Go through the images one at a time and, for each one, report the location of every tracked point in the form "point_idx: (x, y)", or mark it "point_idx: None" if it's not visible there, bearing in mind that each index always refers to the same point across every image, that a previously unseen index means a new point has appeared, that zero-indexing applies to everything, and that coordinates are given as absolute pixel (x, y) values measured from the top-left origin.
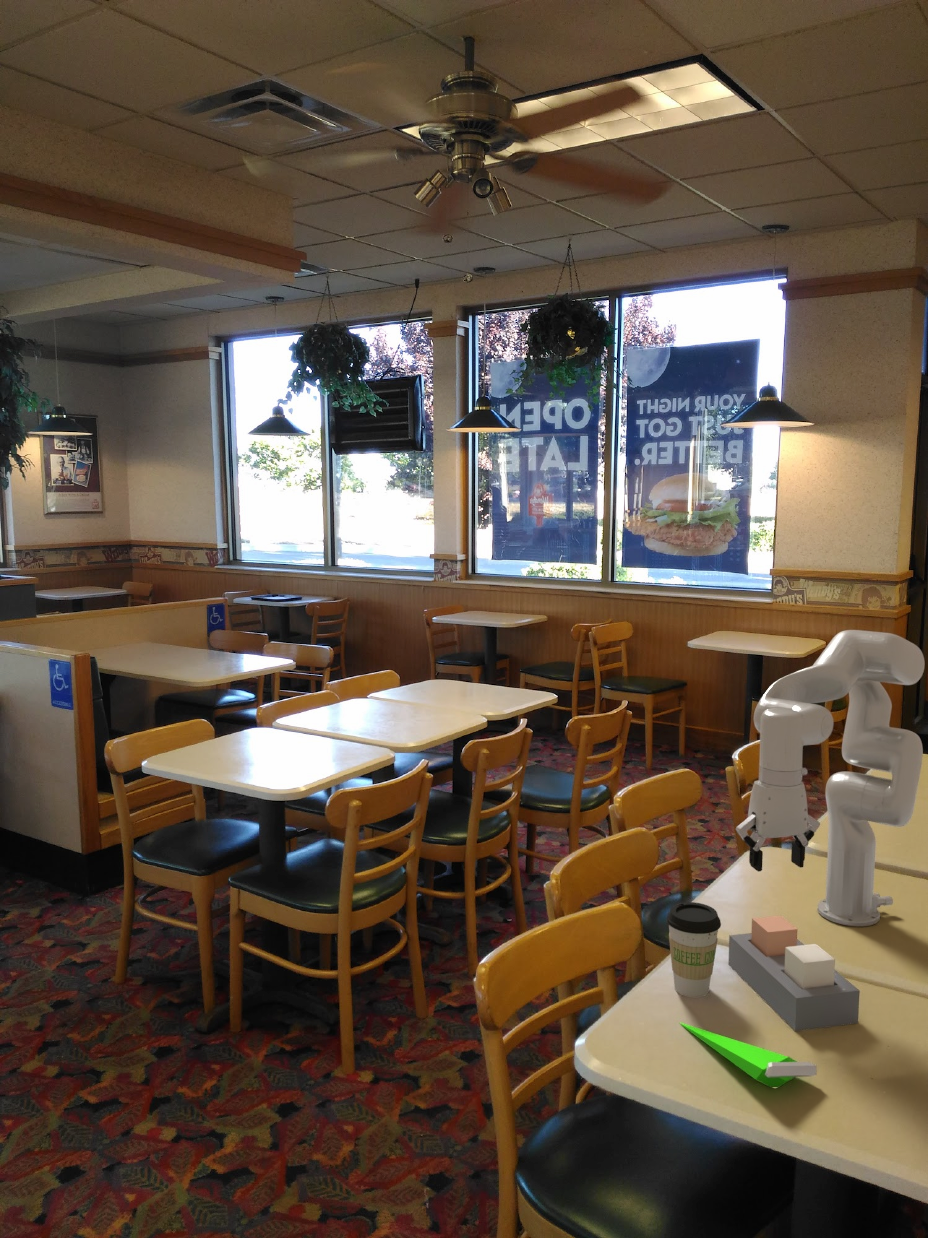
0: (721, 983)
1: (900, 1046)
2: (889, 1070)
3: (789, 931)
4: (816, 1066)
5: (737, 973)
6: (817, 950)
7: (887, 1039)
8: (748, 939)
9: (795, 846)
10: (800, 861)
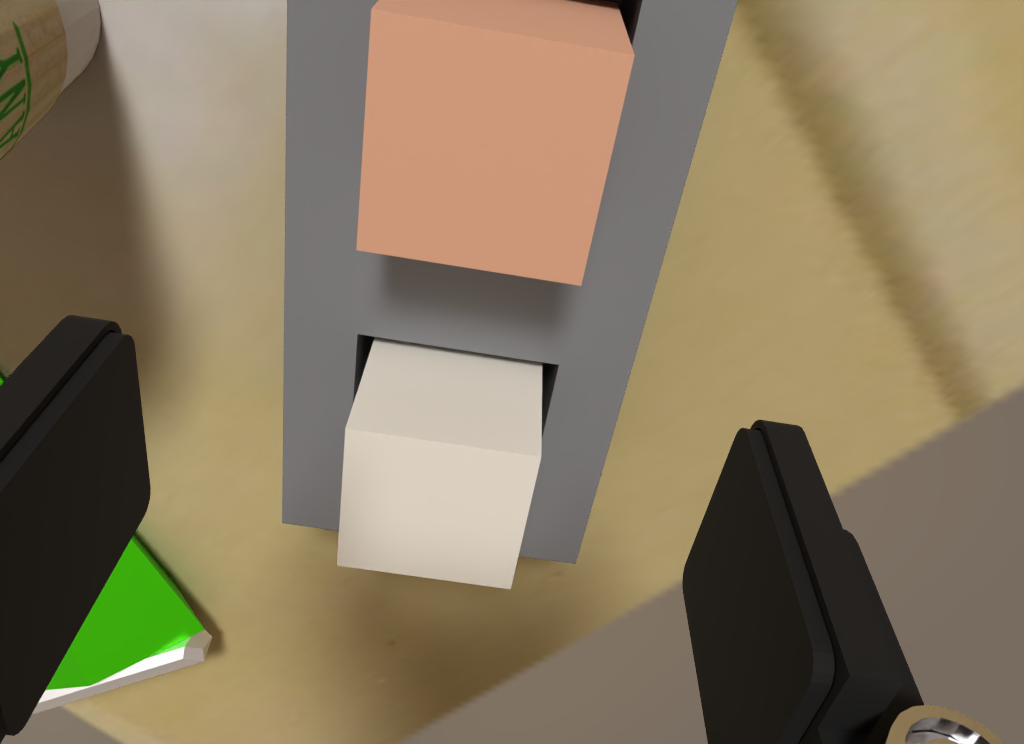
0: (196, 7)
1: (593, 586)
2: (465, 638)
3: (519, 273)
4: (203, 660)
5: None
6: (494, 508)
7: (587, 553)
8: None
9: (764, 725)
10: (698, 645)
